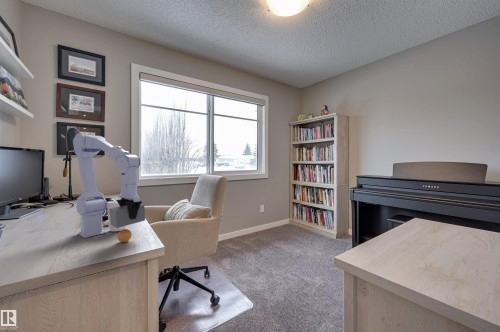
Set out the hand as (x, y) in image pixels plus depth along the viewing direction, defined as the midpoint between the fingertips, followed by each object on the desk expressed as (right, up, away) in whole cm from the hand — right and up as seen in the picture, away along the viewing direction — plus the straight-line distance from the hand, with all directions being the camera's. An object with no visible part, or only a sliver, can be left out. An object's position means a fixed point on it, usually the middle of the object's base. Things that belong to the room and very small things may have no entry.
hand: (129, 217), depth 86 cm
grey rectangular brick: (0, -2, 0) cm, 2 cm away
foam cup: (-13, -9, +13) cm, 20 cm away
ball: (-1, -7, -2) cm, 7 cm away
